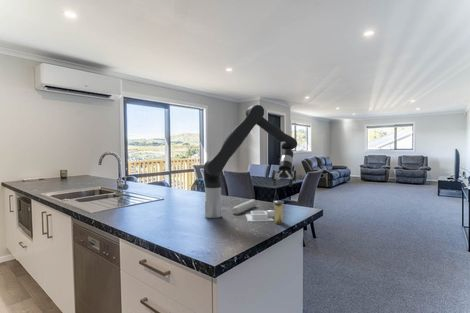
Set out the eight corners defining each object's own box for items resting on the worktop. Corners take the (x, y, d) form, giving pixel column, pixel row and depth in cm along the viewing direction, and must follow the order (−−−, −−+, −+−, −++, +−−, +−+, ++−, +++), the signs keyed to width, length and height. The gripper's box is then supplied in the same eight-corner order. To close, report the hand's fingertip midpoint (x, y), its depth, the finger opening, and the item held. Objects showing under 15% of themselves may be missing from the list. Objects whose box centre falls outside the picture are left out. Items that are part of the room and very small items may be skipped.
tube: (239, 209, 155) (258, 201, 176) (231, 205, 158) (251, 197, 179) (236, 217, 156) (255, 208, 177) (229, 213, 159) (249, 205, 180)
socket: (247, 221, 141) (247, 213, 141) (245, 215, 155) (245, 208, 155) (280, 221, 142) (280, 213, 142) (274, 214, 156) (274, 207, 156)
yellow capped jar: (274, 224, 136) (274, 202, 136) (272, 221, 142) (272, 200, 141) (285, 224, 136) (284, 202, 136) (282, 221, 142) (282, 200, 142)
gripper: (273, 160, 160) (268, 181, 149) (297, 159, 154) (294, 181, 144) (275, 168, 165) (271, 189, 155) (298, 168, 159) (295, 189, 149)
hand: (282, 185), depth 149 cm, fingers open, 8 cm apart
